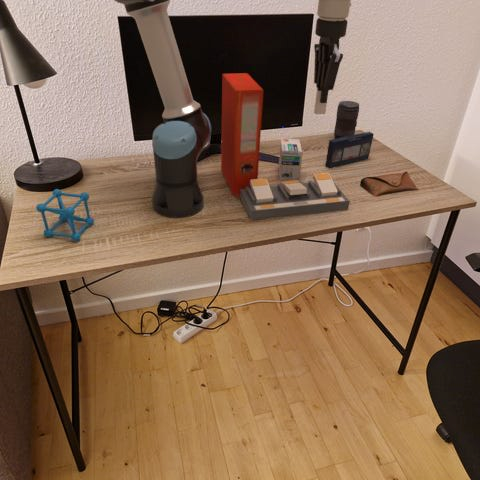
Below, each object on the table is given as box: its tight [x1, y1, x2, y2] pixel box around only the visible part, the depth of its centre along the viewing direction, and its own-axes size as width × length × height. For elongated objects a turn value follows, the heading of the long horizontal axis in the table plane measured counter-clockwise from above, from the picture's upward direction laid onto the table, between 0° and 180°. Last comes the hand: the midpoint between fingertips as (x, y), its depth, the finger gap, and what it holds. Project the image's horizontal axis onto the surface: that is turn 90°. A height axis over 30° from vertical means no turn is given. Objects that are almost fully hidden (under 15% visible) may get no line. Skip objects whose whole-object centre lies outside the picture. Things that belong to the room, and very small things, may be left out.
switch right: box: [312, 172, 338, 197], centre depth 131 cm, size 5×8×2 cm, turn 14°
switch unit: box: [239, 180, 351, 221], centre depth 130 cm, size 30×13×4 cm, turn 104°
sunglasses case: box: [359, 171, 419, 198], centre depth 141 cm, size 18×7×7 cm
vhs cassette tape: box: [324, 131, 374, 169], centre depth 153 cm, size 18×3×10 cm, turn 118°
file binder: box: [220, 72, 265, 196], centre depth 132 cm, size 8×17×32 cm, turn 14°
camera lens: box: [333, 100, 360, 139], centre depth 168 cm, size 8×8×15 cm
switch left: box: [250, 178, 274, 203], centre depth 127 cm, size 5×8×2 cm, turn 14°
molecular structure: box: [35, 188, 95, 242], centre depth 113 cm, size 10×10×10 cm
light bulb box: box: [278, 138, 304, 182], centre depth 144 cm, size 11×7×11 cm, turn 179°
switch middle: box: [280, 180, 307, 195], centre depth 129 cm, size 5×8×2 cm, turn 14°
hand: (319, 113), depth 119 cm, fingers closed
